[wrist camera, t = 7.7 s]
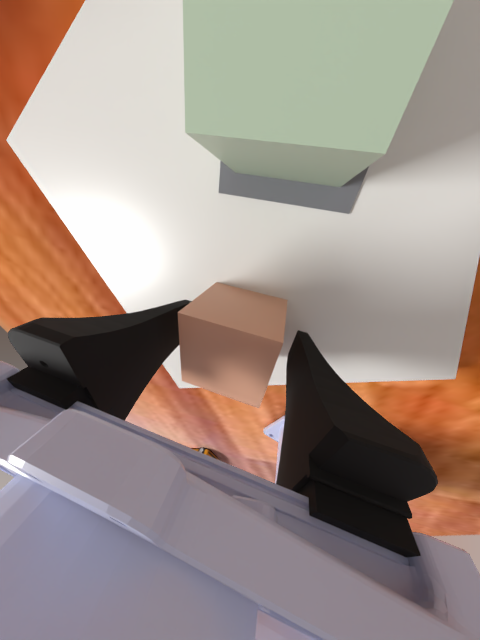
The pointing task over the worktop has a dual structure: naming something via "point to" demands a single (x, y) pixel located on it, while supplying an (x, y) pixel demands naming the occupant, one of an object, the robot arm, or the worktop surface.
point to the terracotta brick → (231, 341)
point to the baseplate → (265, 198)
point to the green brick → (303, 81)
